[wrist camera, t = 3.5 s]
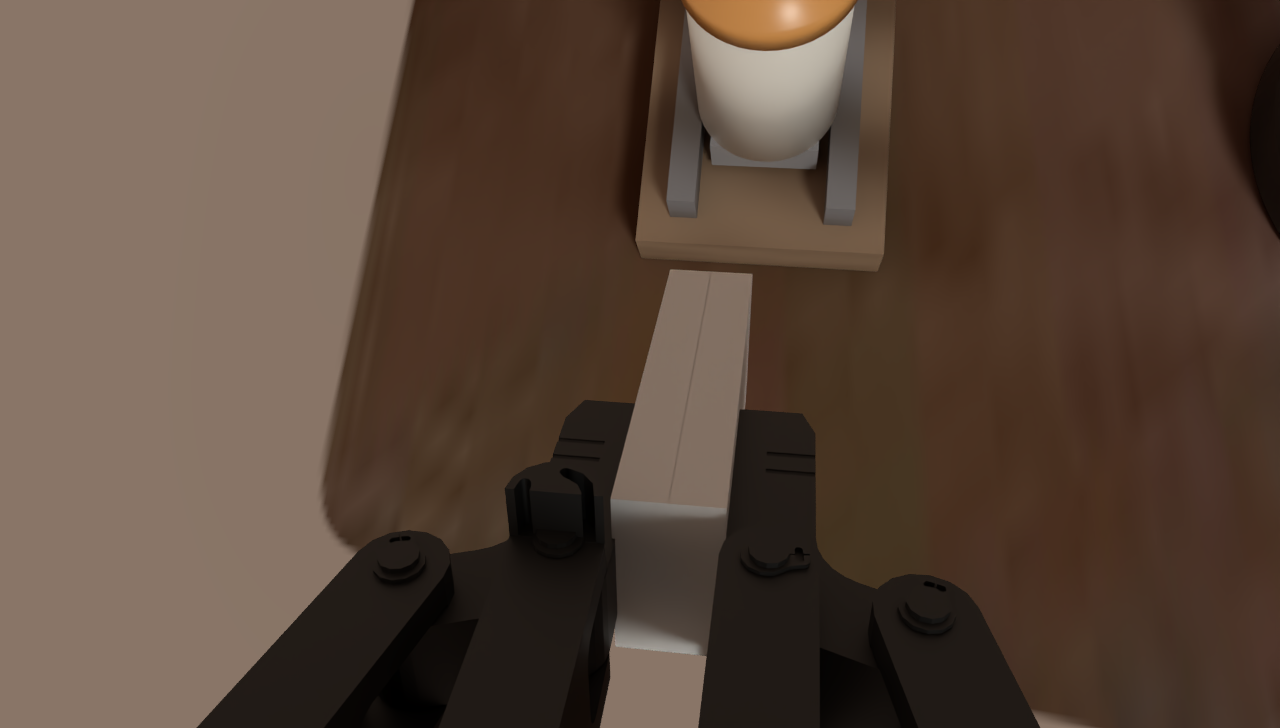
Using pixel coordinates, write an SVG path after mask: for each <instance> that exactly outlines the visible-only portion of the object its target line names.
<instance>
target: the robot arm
mask: <svg viewBox="0 0 1280 728" xmlns="http://www.w3.org/2000/svg"><path fill="white" fill-rule="evenodd" d="M1250 145H1251V157H1252V163H1253V170H1254V174H1255V178H1256V182H1257V185H1258V188H1259V191H1260V194H1261V197H1262V200H1263V202H1264V205H1265V207H1266V209H1267V212H1268V214H1269V216H1270V218H1271V219H1272V221H1273V223H1274V225H1275V227H1276V229H1277V230H1278V232H1279V233H1280V45H1279V46H1278V48H1277V49H1276V50H1275V52H1274V54H1273V55H1272V57H1271V59H1270V61H1269V62H1268V64H1267V66H1266V69H1265V71H1264V73H1263V75H1262V78H1261V80H1260V83H1259V85H1258V89H1257V92H1256V96H1255V99H1254V104H1253V109H1252V116H1251V126H1250ZM751 292H752V274H744V273H726V272H708V271H690V270H672V269H670V273H669V277H668V281H667V284H666V288H665V292H664V296H663V300H662V304H661V307H660V311H659V315H658V319H657V323H656V327H655V330H654V334H653V338H652V342H651V346H650V349H649V353H648V357H647V361H646V365H645V369H644V372H643V376H642V380H641V384H640V388H639V391H638V395H637V399H636V403H635V404H632V403H619V402H605V401H591V400H585V401H583V402H582V403H581V404H580V405H579V406H578V407H577V408H576V409H575V410H574V411H572V412H571V413H570V414H569V415H568V416H567V417H566V419H565V422H564V425H563V427H562V430H561V433H560V436H559V442H557V444H556V447H555V450H554V453H553V458H551V461H550V462H547V463H542V464H539V465H535V466H532V467H528V468H526V469H525V470H523V471H522V472H520V473H518V474H517V475H515V476H514V477H513V478H512V479H511V481H510V482H509V483H508V485H507V486H506V487H505V495H506V504H507V514H508V523H509V533H510V536H509V539H508V540H507V541H505V542H503V543H500V544H498V545H495V546H493V547H489V548H484V549H480V550H475V551H468V552H461V553H454V554H450V553H449V549H448V548H447V547H446V545H445V544H444V543H443V541H442V540H441V539H439V538H437V537H435V536H433V535H431V534H429V533H427V532H418V531H410V530H408V531H401V532H395V533H389V534H387V535H384V536H382V537H380V538H377V539H375V540H372V541H371V542H370V543H369V544H367V545H366V546H365V547H363V548H362V549H361V550H360V551H358V552H357V553H356V555H355V556H354V557H353V558H352V559H351V560H350V561H349V562H348V563H347V564H346V566H345V567H344V568H343V569H342V570H341V571H340V572H339V573H338V574H337V575H336V576H335V577H334V579H333V580H332V581H331V582H330V583H329V584H328V585H327V586H326V587H325V589H323V591H322V592H321V593H320V594H319V595H318V596H317V597H316V598H315V599H314V600H313V601H312V603H311V604H310V605H309V606H308V607H307V608H306V609H305V610H304V611H303V612H302V614H301V615H300V616H299V617H298V618H297V619H296V620H295V621H294V622H293V623H292V624H291V626H290V627H289V628H288V629H287V630H286V631H285V632H284V633H283V634H282V635H281V636H280V637H279V639H278V640H277V641H276V642H275V643H274V644H273V645H272V646H271V647H270V648H269V649H268V651H267V652H266V653H265V654H264V655H263V656H262V657H261V658H260V659H259V660H258V661H257V663H256V664H255V665H254V666H253V667H252V668H251V669H250V670H249V671H248V672H247V673H246V675H245V676H244V677H243V678H242V679H241V680H240V681H239V682H238V683H237V684H236V685H235V687H234V688H233V689H232V690H231V691H230V692H229V693H228V694H227V695H226V696H225V697H224V699H223V700H222V701H221V702H220V703H219V704H218V705H217V706H216V707H215V708H214V709H213V711H212V712H211V713H210V714H209V715H208V716H207V717H206V718H205V719H204V720H203V721H202V723H201V724H200V725H199V726H198V727H197V728H600V723H601V718H602V714H603V709H604V704H605V700H606V695H607V690H608V686H609V681H610V661H609V660H610V659H609V651H610V646H611V642H612V637H613V633H614V628H615V644H616V646H617V647H627V648H635V649H646V650H655V651H664V652H674V653H684V654H694V655H703V656H707V658H706V667H705V675H704V684H703V692H702V701H701V709H700V718H699V726H698V728H1040V726H1039V724H1038V722H1037V720H1036V719H1035V717H1034V715H1033V713H1032V711H1031V709H1030V707H1029V705H1028V703H1027V701H1026V699H1025V697H1024V695H1023V693H1022V691H1021V689H1020V687H1019V685H1018V683H1017V682H1016V680H1015V678H1014V676H1013V674H1012V672H1011V670H1010V668H1009V666H1008V664H1007V662H1006V660H1005V658H1004V656H1003V654H1002V652H1001V650H1000V648H999V646H998V645H997V643H996V641H995V639H994V637H993V635H992V633H991V631H990V629H989V627H988V625H987V623H986V621H985V619H984V617H983V615H982V613H981V611H980V609H979V608H978V606H977V605H976V604H975V603H974V601H973V600H972V599H971V598H970V596H969V595H968V594H967V593H966V592H964V591H963V590H961V589H960V588H958V587H957V586H955V585H954V584H952V583H951V582H948V581H945V580H942V579H939V578H936V577H933V576H930V575H914V574H909V575H904V576H900V577H896V578H892V579H890V580H889V581H888V582H886V583H885V584H883V585H882V586H880V587H879V588H878V589H875V588H872V587H869V586H866V585H863V584H860V583H858V582H855V581H853V580H851V579H848V578H846V577H844V576H843V575H841V574H840V573H838V572H837V571H835V570H834V569H832V568H831V567H830V565H829V564H828V563H827V562H826V561H825V560H824V559H823V558H822V556H821V554H820V552H819V550H818V548H817V543H816V488H815V433H814V431H813V430H812V428H811V427H810V425H809V423H808V422H807V420H806V419H805V417H804V416H803V414H799V413H785V412H772V411H758V410H745V401H746V384H747V366H748V347H749V329H750V310H751Z"/></svg>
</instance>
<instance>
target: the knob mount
mask: <svg viewBox="0 0 1280 728" xmlns="http://www.w3.org/2000/svg"><path fill="white" fill-rule="evenodd" d="M895 16H896V0H858V1H857V2H856V4H855V6H854V12H853V18H852V24H851V30H850V37H849V43H848V49H847V55H846V61H845V67H844V73H843V79H842V85H841V92H840V98H839V104H838V109H837V112H836V116H835V118H834V120H833V123H832V125H831V126H830V128H829V129H828V131H827V132H826V134H825V135H824V136H823V137H822V138H821V139H820V140H819V150H818V158H817V165H816V169H793V168H771V167H748V166H726V165H712V161H711V152H710V140H711V136H710V135H709V133H708V132H707V130H706V129H705V127H704V125H703V122H702V120H701V117H700V114H699V109H698V101H697V93H696V85H695V77H694V68H693V60H692V52H691V44H690V36H689V28H688V20H687V12H686V8H685V7H684V5H683V3H682V1H681V0H660V9H659V19H658V28H657V38H656V47H655V57H654V67H653V76H652V86H651V96H650V105H649V115H648V125H647V134H646V144H645V153H644V163H643V173H642V182H641V192H640V202H639V211H638V221H637V230H636V240H635V241H636V244H637V247H638V249H639V252H640V255H641V258H649V259H666V260H684V261H701V262H718V263H736V264H753V265H771V266H788V267H806V268H823V269H841V270H858V271H876V272H877V271H878V269H879V266H880V263H881V261H882V258H883V255H884V240H885V220H886V200H887V179H888V159H889V138H890V118H891V98H892V77H893V57H894V36H895Z"/></svg>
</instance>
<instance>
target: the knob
mask: <svg viewBox="0 0 1280 728" xmlns="http://www.w3.org/2000/svg"><path fill="white" fill-rule="evenodd" d="M681 1H682V3H683V5H684V7H685V8H686V12H687V20H688V28H689V36H690V44H691V52H692V60H693V68H694V77H695V85H696V93H697V101H698V109H699V114H700V117H701V120H702V122H703V125H704V127H705V129H706V130H707V132H708V133H709V135H710V136H711V140H710V152H711V161H712V165H726V166H748V167H771V168H793V169H816V165H817V158H818V150H819V140H820V139H821V138H822V137H823V136H824V135H825V134H826V132H827V131H828V129H829V128H830V126H831V125H832V123H833V120H834V118H835V116H836V112H837V109H838V104H839V98H840V92H841V85H842V79H843V73H844V67H845V61H846V55H847V49H848V43H849V37H850V30H851V24H852V18H853V12H854V6H855V4H856V2H857V1H858V0H681Z"/></svg>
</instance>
